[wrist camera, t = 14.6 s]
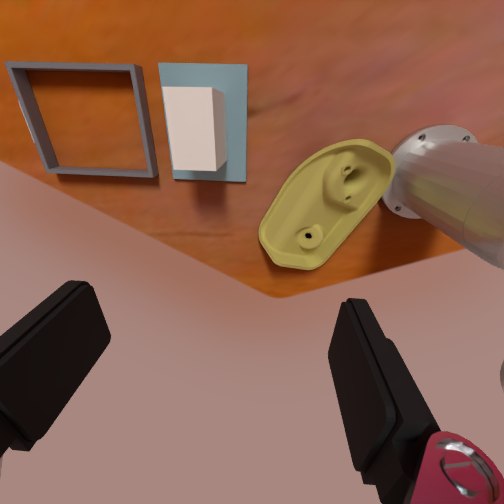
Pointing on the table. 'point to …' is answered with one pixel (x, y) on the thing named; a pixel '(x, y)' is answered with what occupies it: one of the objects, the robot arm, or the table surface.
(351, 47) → the table surface
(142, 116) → the grey rectangular frame
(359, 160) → the plastic component
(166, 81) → the mat
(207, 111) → the block
